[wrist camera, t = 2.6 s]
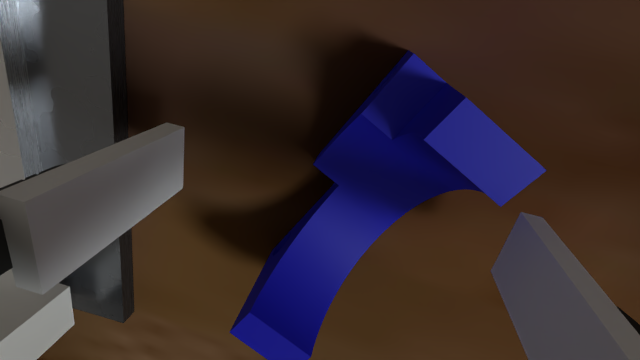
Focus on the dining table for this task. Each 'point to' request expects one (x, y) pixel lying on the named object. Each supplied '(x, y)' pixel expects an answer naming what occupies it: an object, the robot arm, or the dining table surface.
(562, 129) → the dining table surface
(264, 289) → the cable clip
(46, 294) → the mounted modules
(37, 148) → the rail
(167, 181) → the robot arm
